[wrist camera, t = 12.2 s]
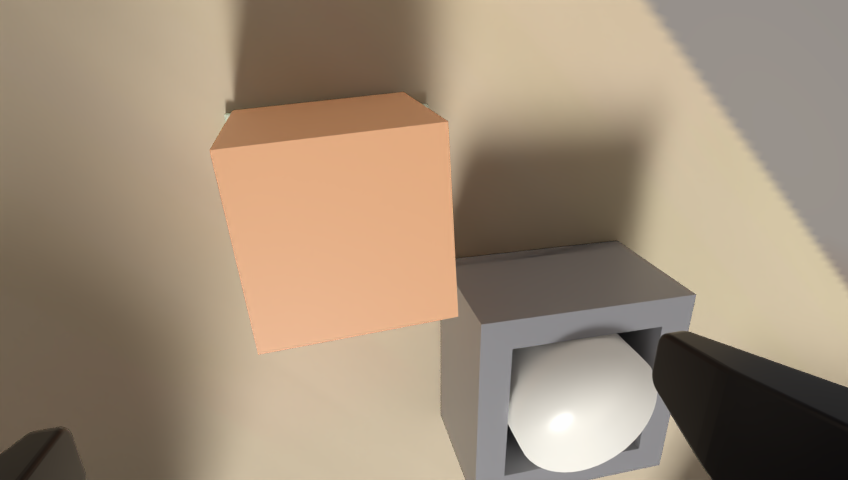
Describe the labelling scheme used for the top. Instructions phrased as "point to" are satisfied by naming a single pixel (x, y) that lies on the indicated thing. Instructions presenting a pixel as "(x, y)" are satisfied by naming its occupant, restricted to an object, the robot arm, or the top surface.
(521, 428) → the white rounded piece
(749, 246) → the top surface
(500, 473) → the well
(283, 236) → the cube
